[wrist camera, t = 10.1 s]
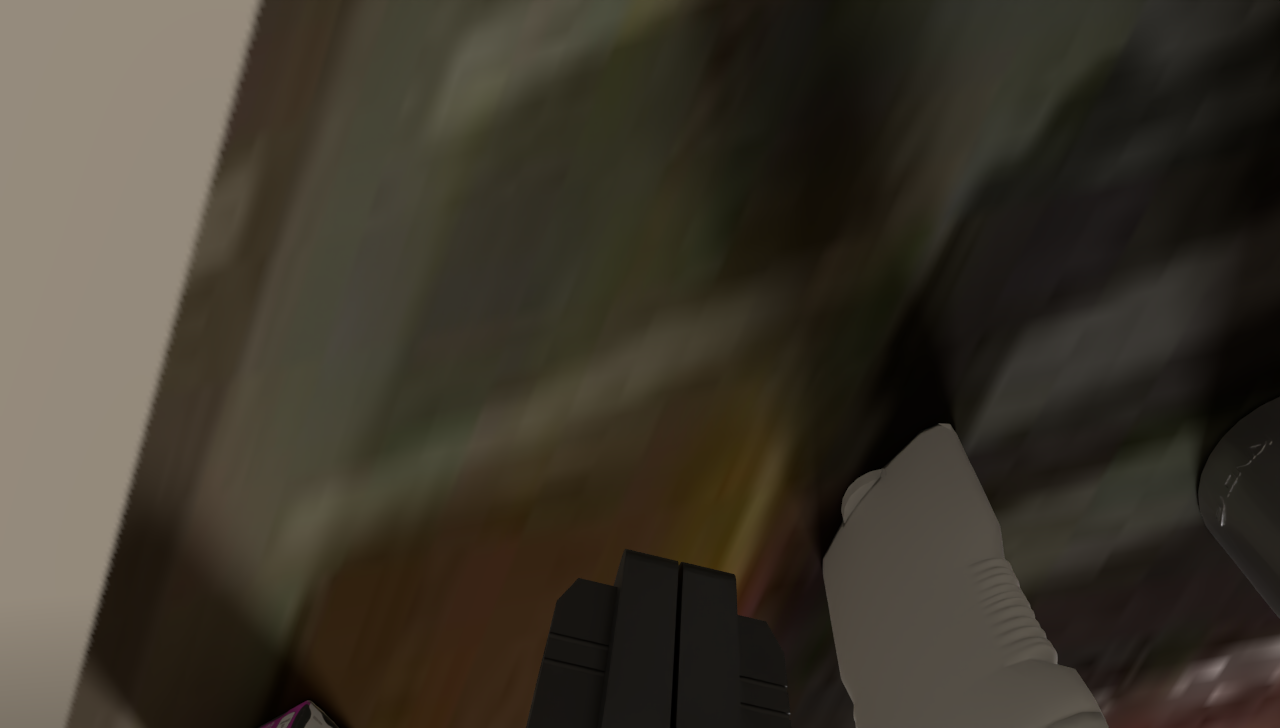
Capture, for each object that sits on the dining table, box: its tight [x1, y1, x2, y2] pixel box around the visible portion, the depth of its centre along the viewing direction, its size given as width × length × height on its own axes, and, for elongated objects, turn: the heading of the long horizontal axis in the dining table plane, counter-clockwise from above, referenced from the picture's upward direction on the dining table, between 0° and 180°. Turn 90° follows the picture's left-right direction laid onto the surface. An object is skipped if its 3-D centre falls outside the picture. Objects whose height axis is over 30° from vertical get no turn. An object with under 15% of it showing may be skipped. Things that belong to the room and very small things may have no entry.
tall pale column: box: [823, 423, 1109, 728], centre depth 32 cm, size 11×4×22 cm, turn 153°
